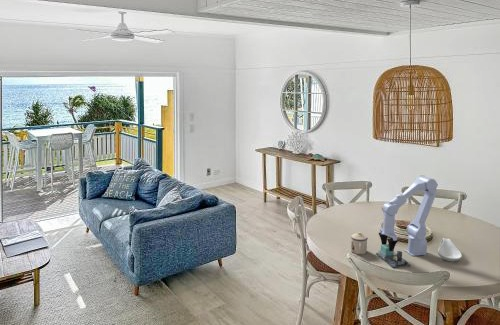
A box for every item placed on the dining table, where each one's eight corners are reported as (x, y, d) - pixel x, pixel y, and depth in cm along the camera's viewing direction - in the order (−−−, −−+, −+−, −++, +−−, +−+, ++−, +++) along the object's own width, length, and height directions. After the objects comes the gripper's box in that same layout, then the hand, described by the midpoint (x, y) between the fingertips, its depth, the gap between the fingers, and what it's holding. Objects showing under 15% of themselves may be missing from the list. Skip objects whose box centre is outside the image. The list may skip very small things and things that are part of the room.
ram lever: (398, 259, 213) (398, 248, 212) (404, 264, 207) (405, 253, 206) (391, 260, 212) (392, 249, 211) (397, 265, 206) (398, 254, 205)
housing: (388, 250, 223) (389, 242, 222) (393, 254, 218) (394, 246, 217) (380, 251, 222) (381, 243, 221) (385, 255, 217) (385, 247, 216)
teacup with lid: (350, 247, 232) (350, 229, 230) (366, 248, 230) (367, 229, 228) (351, 256, 220) (352, 236, 218) (368, 257, 219) (369, 237, 216)
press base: (391, 252, 224) (392, 248, 224) (410, 265, 208) (410, 261, 207) (375, 254, 222) (376, 250, 222) (392, 268, 206) (393, 264, 205)
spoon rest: (463, 265, 208) (464, 252, 206) (439, 263, 211) (440, 250, 209) (454, 247, 230) (455, 235, 228) (432, 245, 233) (433, 234, 232)
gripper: (375, 221, 223) (374, 243, 225) (389, 230, 209) (388, 254, 211) (386, 219, 224) (385, 242, 227) (401, 228, 210) (400, 252, 213)
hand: (387, 247), depth 219 cm, fingers open, 7 cm apart
